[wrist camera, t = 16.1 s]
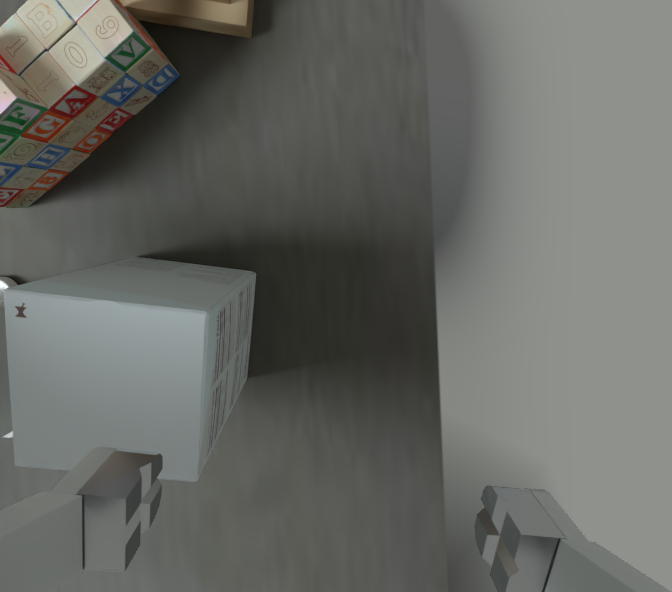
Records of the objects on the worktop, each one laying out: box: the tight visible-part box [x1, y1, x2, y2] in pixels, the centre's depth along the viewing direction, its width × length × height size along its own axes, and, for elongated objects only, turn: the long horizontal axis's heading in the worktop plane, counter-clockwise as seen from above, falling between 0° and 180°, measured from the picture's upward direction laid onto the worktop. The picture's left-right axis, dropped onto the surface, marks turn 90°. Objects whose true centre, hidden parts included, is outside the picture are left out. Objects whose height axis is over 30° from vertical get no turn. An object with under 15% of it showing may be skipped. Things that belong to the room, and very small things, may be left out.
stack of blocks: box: [0, 0, 180, 208], centre depth 32 cm, size 21×6×12 cm, turn 127°
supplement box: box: [3, 257, 256, 482], centre depth 34 cm, size 13×13×18 cm
